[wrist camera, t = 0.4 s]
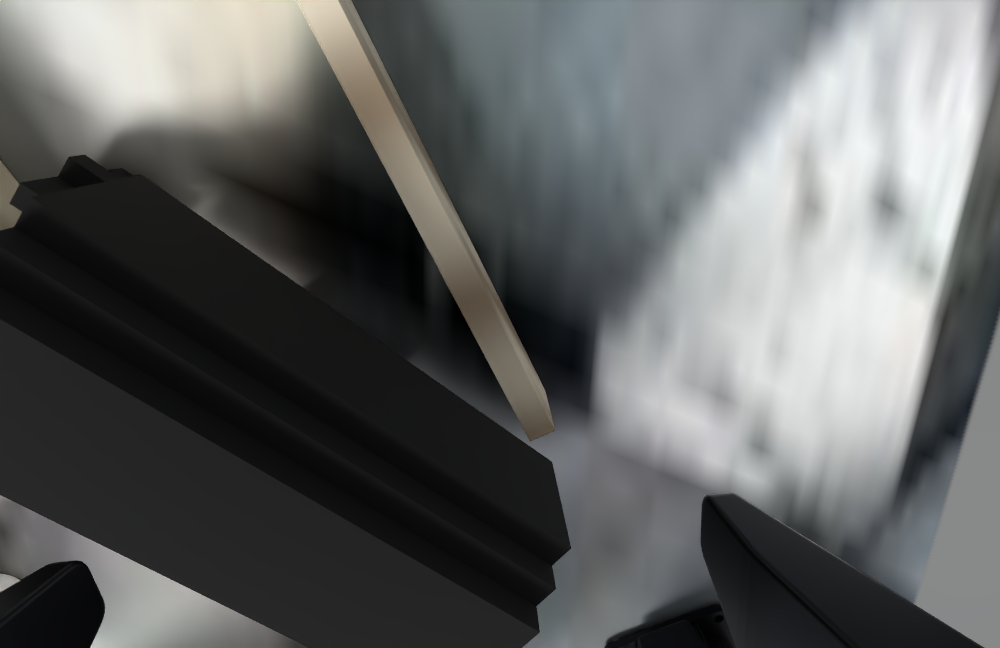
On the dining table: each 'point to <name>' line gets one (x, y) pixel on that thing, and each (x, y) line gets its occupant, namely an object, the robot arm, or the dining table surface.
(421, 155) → the charging rails
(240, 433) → the security camera
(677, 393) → the dining table surface
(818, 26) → the dining table surface
